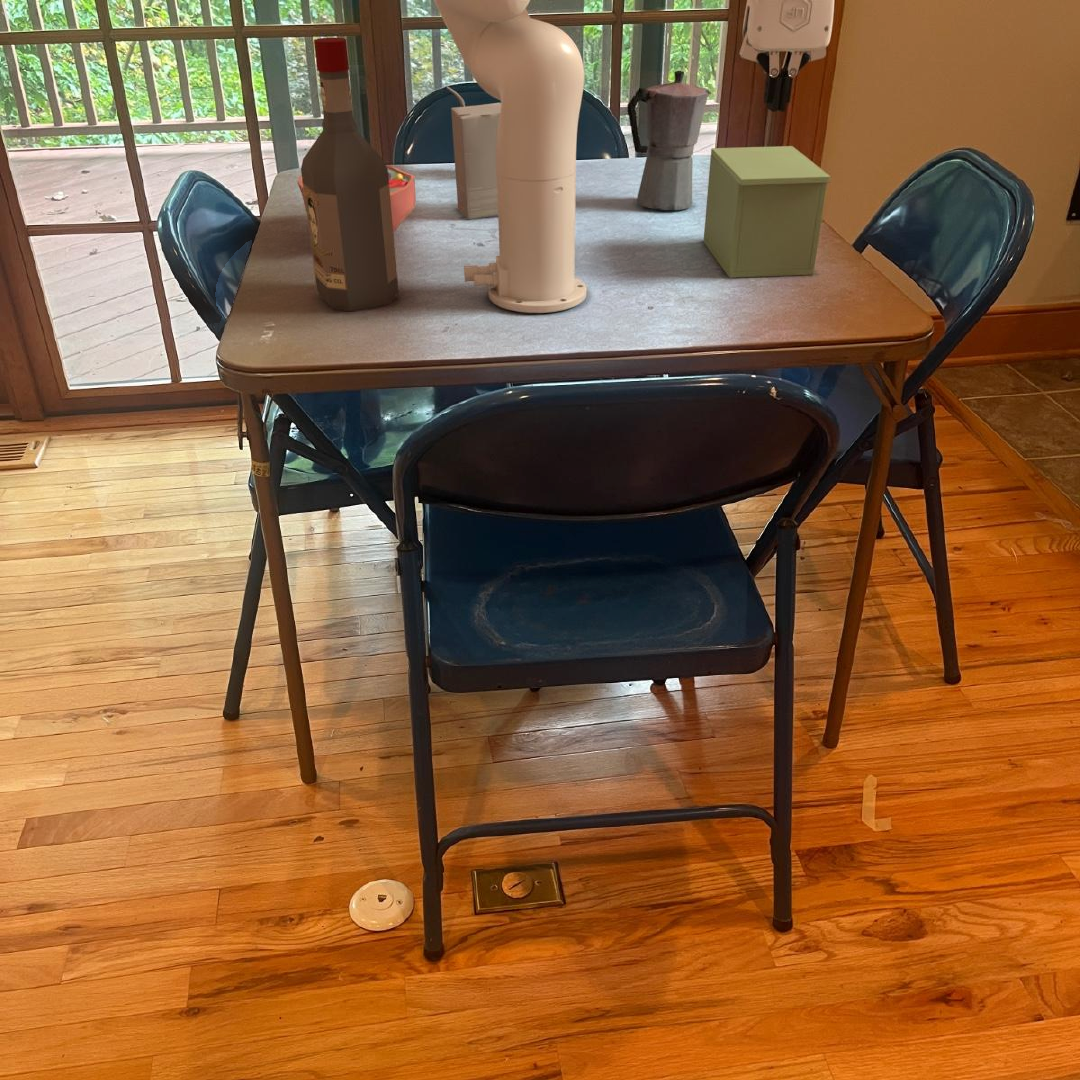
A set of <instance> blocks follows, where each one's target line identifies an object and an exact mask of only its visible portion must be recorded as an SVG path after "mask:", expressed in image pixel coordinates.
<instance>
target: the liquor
mask: <svg viewBox="0 0 1080 1080" xmlns="http://www.w3.org/2000/svg"><path fill="white" fill-rule="evenodd" d="M313 46H314V54H315V62H316V70H317V72H318V76H319V77H318V78H319V85H320V86H319V87H320V96H321V103H322V113H323V114H322V115H323V120H322V123H321V127H322V131H321V132H320V134H319V135H318V137H317V138H316V139H315V141H314V142H313V144H312V145H311V147H310V148H309V150H308V151H307V153H306V154H305V156H304V157H303V159H302V161H301V162H302V163H301V167H300V173H301V175H302V182H303V189H304V196H305V204H306V208H305V212H306V211H307V212H306V218H307V226H308V233H309V241H310V247H311V249H310V250H311V257H312V262H313V269H314V278H315V285H316V291H317V292H318V294H319V295H320V297H321V298H322V300H324V302H325V303H326V304H327V305H328V306H329V307H330V308H331V309H332V310H337V311H345V312H355V311H361V310H367V309H374V308H378V307H384V306H387V305H389V304H390V303H392V301H394V300H395V299H396V298H397V295H398V293H399V283H398V270H397V269H398V268H397V259H396V250H395V249H396V248H395V237H394V235H395V234H394V233H393V224H392V212H391V201H390V189H389V178H388V169H387V167H386V166H387V164H386V162H385V160H384V159H383V157H381V155H380V154H379V153H378V152H377V151H376V150H375V149H374V147H373V146H372V145H371V144H370V143H369V142H368V141H367V140H366V139H365V137H363V135H362V134H361V133H360V132H359V131H358V128H357V127H358V126H357V122H356V120H355V118H354V110H353V106H352V104H353V102H352V93H351V85H350V77H349V70H350V62H349V55H348V45H347V39H346V38H344V37H321V38H315V39H313ZM305 204H304V205H305Z"/></svg>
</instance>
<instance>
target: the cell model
mask: <svg viewBox="0 0 1080 1080" xmlns="http://www.w3.org/2000/svg"><path fill="white" fill-rule="evenodd" d="M386 167H387V169H388V178H389V189H390V201H391V212H392V224H393V234H395V232H396V231H397V229H398V228H399V226H400V225H401V224H402V222H403V221H404V220H405V219H406V218H407V217H408V216H410V214H411V213H412V212H413V210H414V209H415V206H416V203H417V195H416V181H415V180H416V179H415V175H413V174H412V173H411V174H410V173H408V172H406V171H404V170H401V169H400V168H398V167H396V166H395V167H394V166H390V165H386ZM296 183H297V186H298V188H299V191H300V193H301V196H302V201H303V204H304V208H305V209H306V204H305V196H304V189H303V182H302V174H301V175H299V177H298V179H297V180H296ZM305 212H306V213H307V211H306V210H305Z"/></svg>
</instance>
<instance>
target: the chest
mask: <svg viewBox="0 0 1080 1080" xmlns="http://www.w3.org/2000/svg"><path fill="white" fill-rule="evenodd" d="M827 187H828V183H801V184H768V185H740V184H739V183H738V182H737V181H736V180H735V179H734V178H733V177H732V176H731V175H730V174H729V172H728V171H727V170H726V169H725V168H724V167H723V166H722V165H721V164H720V163H719V162H718V161H717V160H716V159H715V158H714V157H713V156H712V155H710V160H709V173H708V182H707V195H706V207H705V208H706V209H705V217H704V231H703V243H704V245H705V246H706V247H707V249H708V250H709V252H710V253H711V255H712V256H713V258H715V260H716V261H717V263H718V264H719V265H720V267H721V268H722V270H723V271H724V272H725V274H726V275H727V276H728V278H730V279H734V278H735V279H736V278H738V279H739V278H758V277H759V278H762V277H789V276H813V275H814V273H815V267H816V261H817V256H818V255H817V254H818V249H819V247H818V246H819V240H820V234H821V227H822V221H823V215H824V208H825V202H826V201H825V200H826V194H827V189H828V188H827Z"/></svg>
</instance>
